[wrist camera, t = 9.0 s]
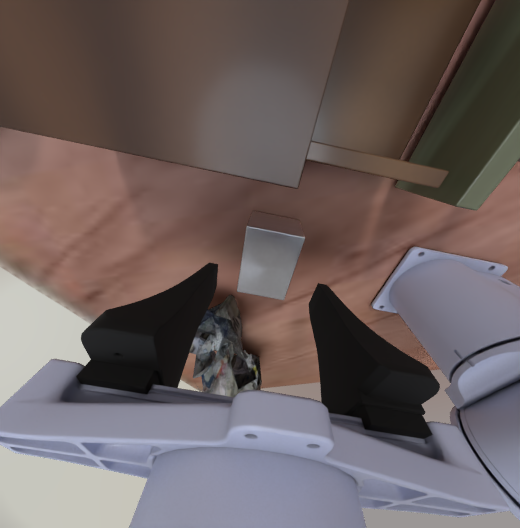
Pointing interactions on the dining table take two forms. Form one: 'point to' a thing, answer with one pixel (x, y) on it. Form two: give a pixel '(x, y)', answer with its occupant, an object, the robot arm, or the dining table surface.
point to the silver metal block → (269, 255)
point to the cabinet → (173, 78)
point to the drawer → (424, 97)
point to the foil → (224, 353)
